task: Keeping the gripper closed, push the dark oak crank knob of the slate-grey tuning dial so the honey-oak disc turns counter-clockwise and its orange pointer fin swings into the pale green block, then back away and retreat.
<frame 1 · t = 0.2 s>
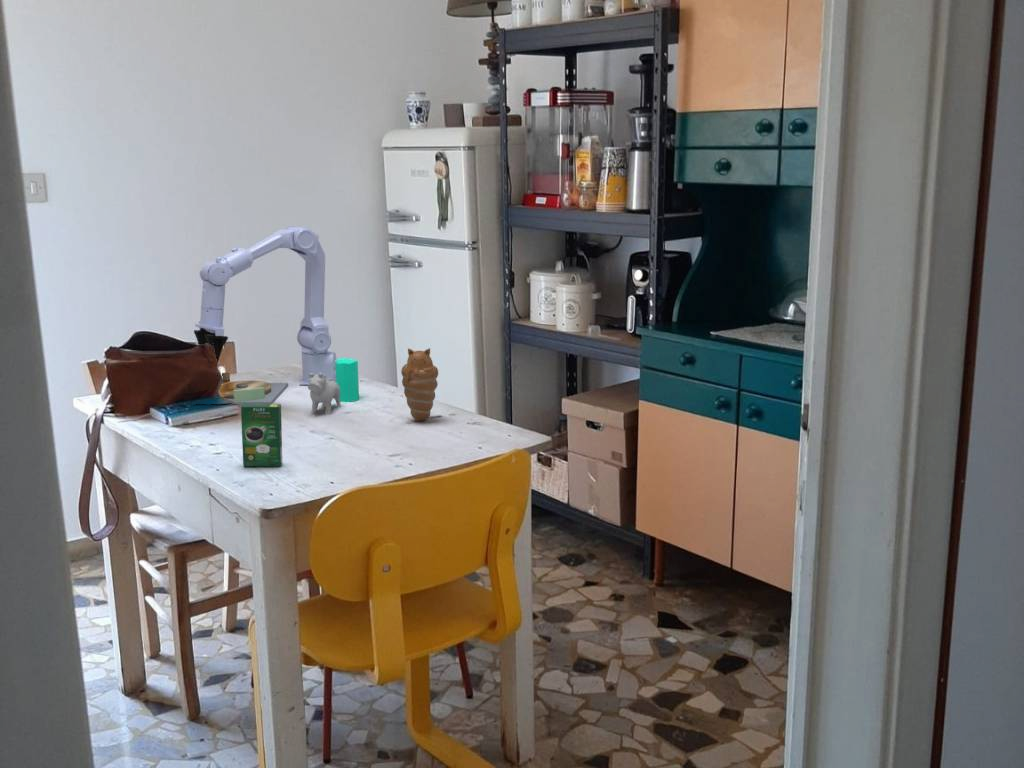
hand: (209, 359, 259), 10 cm above the table, tool pointing down, fingers open, 7 cm apart
pale green block: (249, 394, 256), on the grey flat square board, point 2 cm above the table
dog figurine: (325, 411, 248), on the table
dial: (241, 383, 263), point 3 cm above the table, hinge at 0.0°
coffee box: (263, 466, 204), on the table
cat ice cream: (421, 421, 239), on the table
candle: (347, 400, 260), on the table
grey flat square board: (242, 395, 264), on the table
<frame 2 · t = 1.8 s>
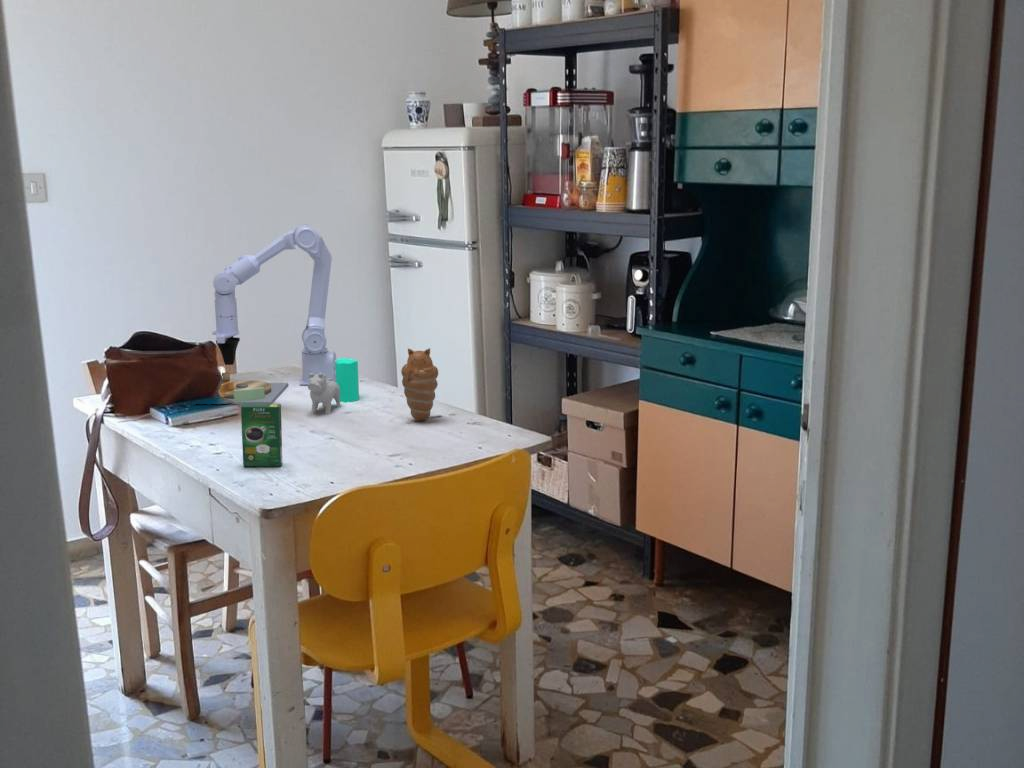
hand: (229, 364, 272), 6 cm above the table, tool pointing down, fingers closed
nothing on the table moved.
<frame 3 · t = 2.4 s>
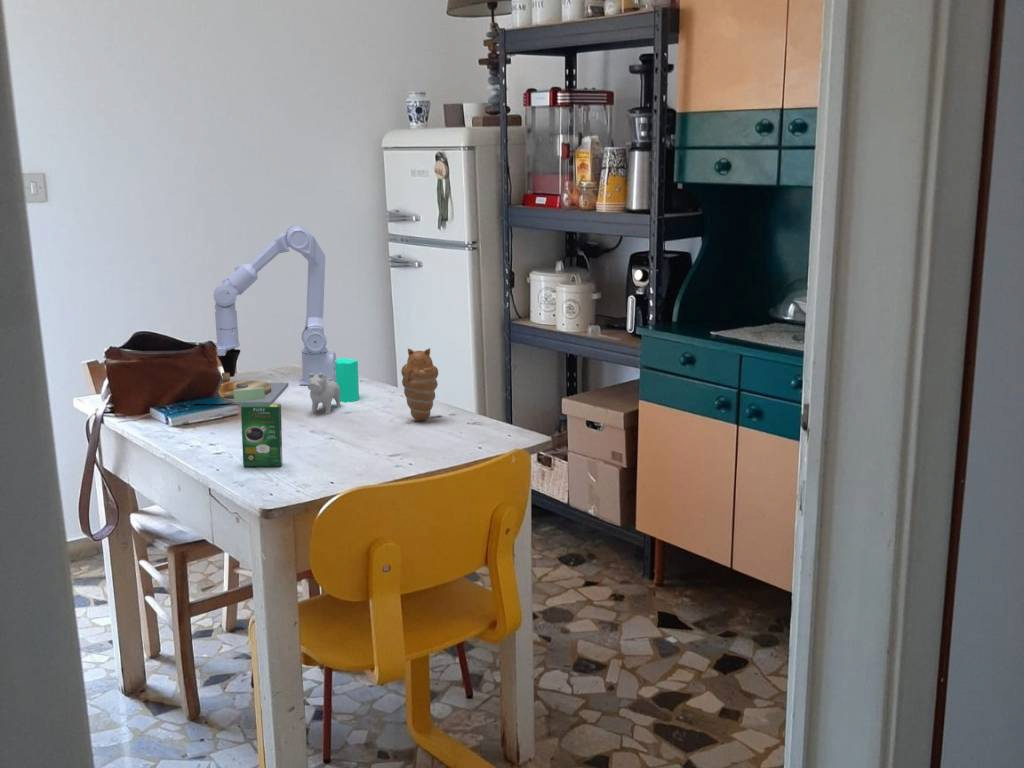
hand: (230, 376, 273), 3 cm above the table, tool pointing down, fingers closed
nothing on the table moved.
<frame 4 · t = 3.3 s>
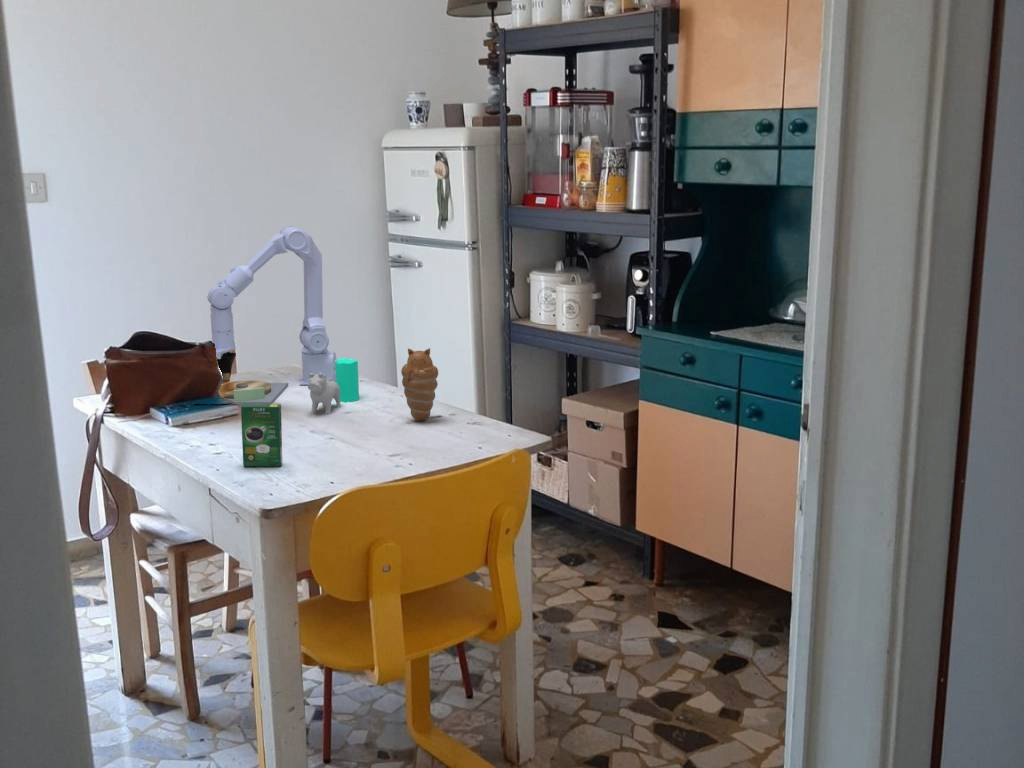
hand: (225, 379, 268), 3 cm above the table, tool pointing down, fingers closed, pressing on dial
dial: (241, 383, 263), point 3 cm above the table, hinge at 0.3°, touching gripper
everything else where it was.
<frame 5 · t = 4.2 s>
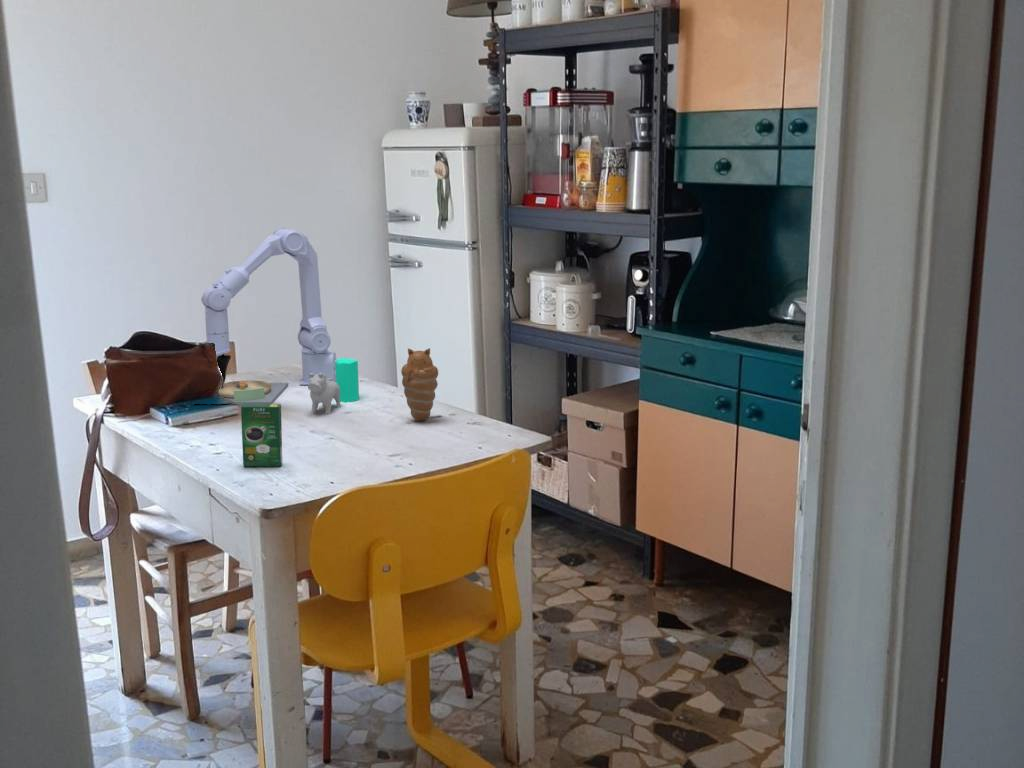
hand: (220, 382, 264), 3 cm above the table, tool pointing down, fingers closed, pressing on dial
dial: (242, 383, 263), point 3 cm above the table, hinge at 40.6°, touching gripper
everything else where it was.
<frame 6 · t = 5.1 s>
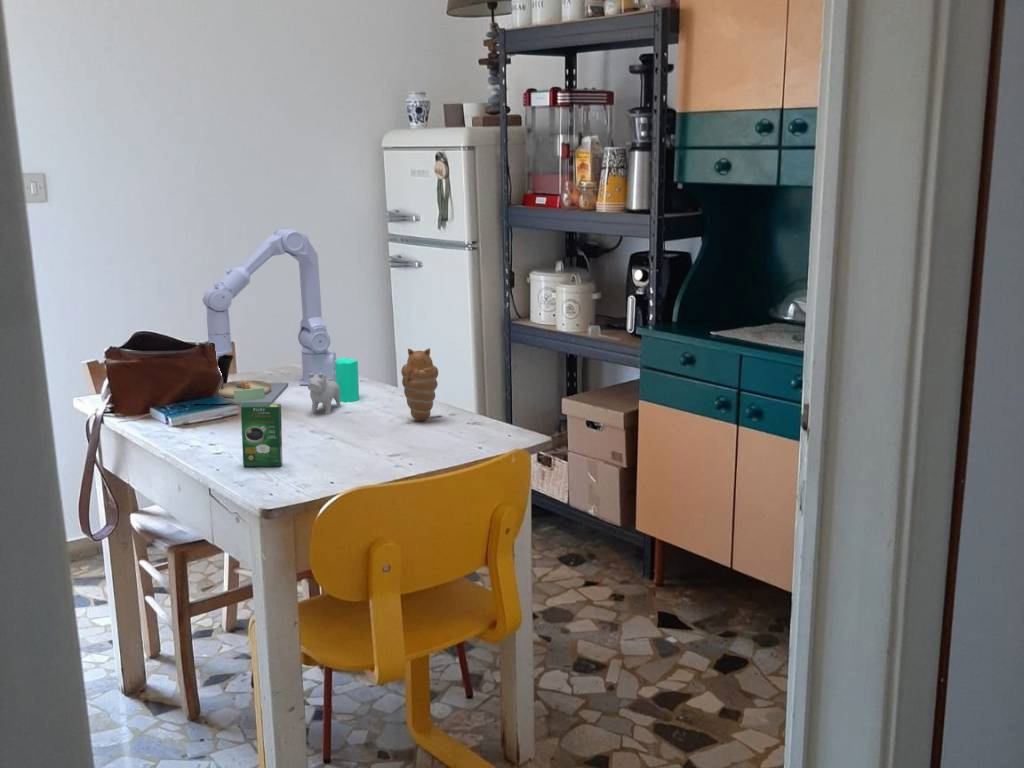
hand: (222, 382, 265), 3 cm above the table, tool pointing down, fingers closed
dial: (242, 383, 263), point 3 cm above the table, hinge at 49.3°
everything else where it was.
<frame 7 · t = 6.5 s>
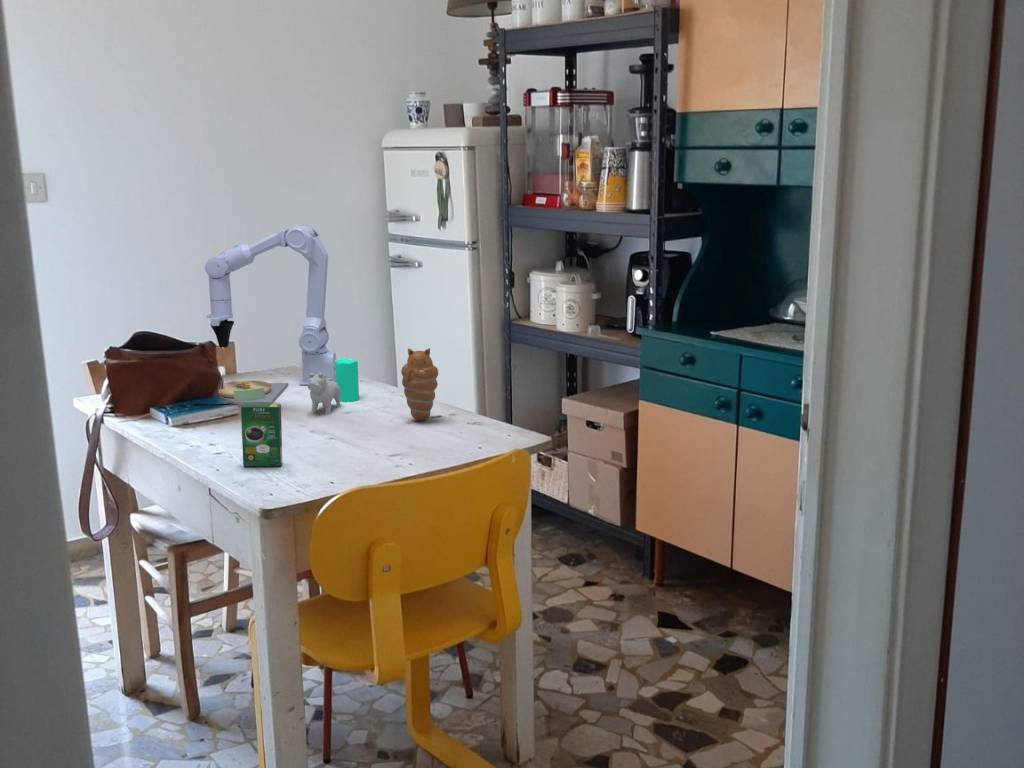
hand: (223, 347, 279), 10 cm above the table, tool pointing down, fingers closed
nothing on the table moved.
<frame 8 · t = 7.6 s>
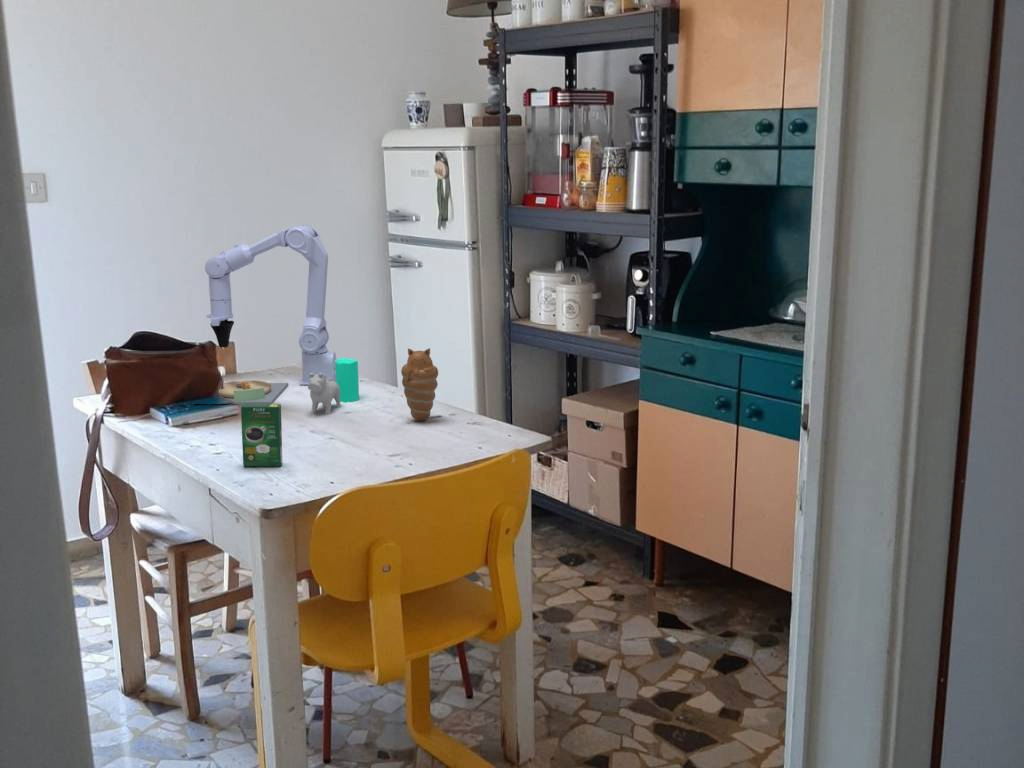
hand: (223, 347, 279), 10 cm above the table, tool pointing down, fingers closed
nothing on the table moved.
at the end: dial at +49° (first picture: +0°) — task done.
